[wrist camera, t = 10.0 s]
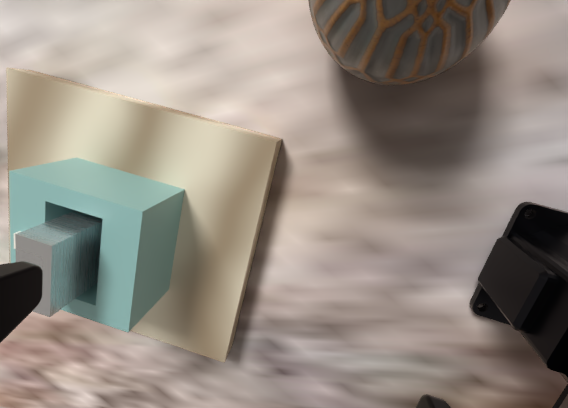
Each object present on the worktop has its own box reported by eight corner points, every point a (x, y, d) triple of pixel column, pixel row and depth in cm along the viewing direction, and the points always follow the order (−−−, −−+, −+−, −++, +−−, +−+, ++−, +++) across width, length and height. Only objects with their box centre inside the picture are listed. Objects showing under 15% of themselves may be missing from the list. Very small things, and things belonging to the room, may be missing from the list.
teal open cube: (168, 289, 20) (124, 336, 16) (71, 258, 21) (5, 295, 17) (184, 189, 18) (138, 213, 14) (76, 157, 19) (2, 172, 15)
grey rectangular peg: (139, 203, 19) (51, 245, 13) (133, 256, 20) (49, 317, 14) (113, 195, 19) (15, 234, 13) (108, 248, 20) (16, 305, 14)
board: (282, 138, 18) (276, 141, 17) (231, 346, 22) (224, 362, 21) (30, 70, 19) (6, 67, 18) (29, 278, 24) (9, 289, 22)
